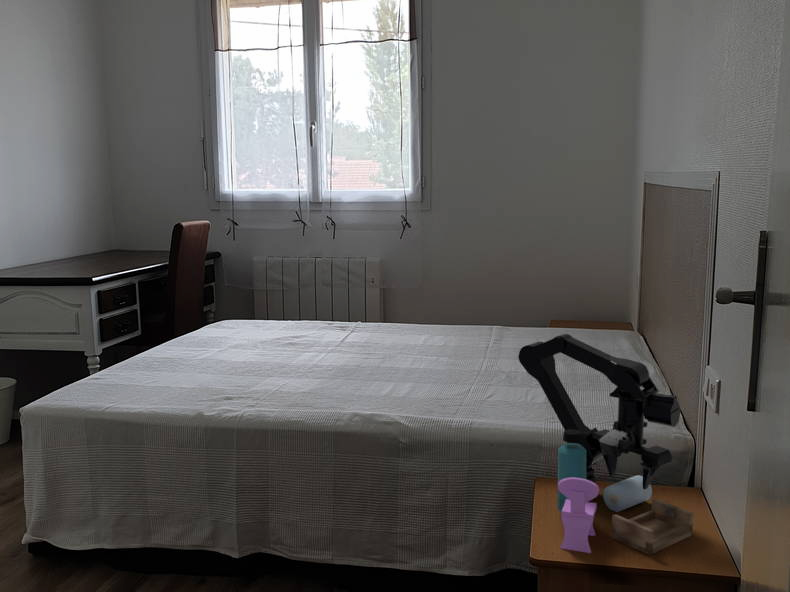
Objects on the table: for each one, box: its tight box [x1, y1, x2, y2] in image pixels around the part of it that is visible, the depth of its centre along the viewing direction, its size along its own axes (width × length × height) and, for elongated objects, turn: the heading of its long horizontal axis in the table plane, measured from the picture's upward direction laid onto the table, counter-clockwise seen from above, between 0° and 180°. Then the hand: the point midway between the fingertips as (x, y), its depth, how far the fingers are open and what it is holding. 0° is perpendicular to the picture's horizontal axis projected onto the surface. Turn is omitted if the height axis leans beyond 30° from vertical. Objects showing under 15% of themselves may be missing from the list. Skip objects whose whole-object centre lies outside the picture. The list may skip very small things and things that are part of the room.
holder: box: [611, 498, 694, 556], centre depth 160 cm, size 10×14×5 cm, turn 126°
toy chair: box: [557, 477, 600, 554], centre depth 158 cm, size 8×9×15 cm
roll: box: [602, 475, 653, 513], centre depth 176 cm, size 10×6×6 cm, turn 126°
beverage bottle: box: [557, 429, 587, 514], centre depth 169 cm, size 6×7×20 cm
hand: (628, 482), depth 175 cm, fingers open, 9 cm apart
